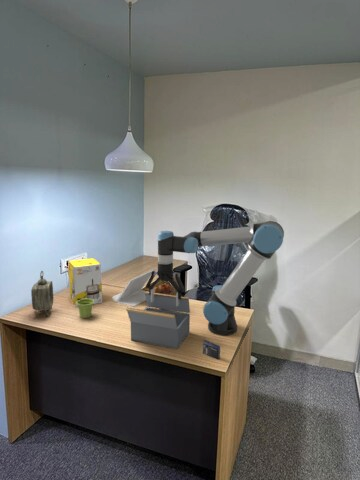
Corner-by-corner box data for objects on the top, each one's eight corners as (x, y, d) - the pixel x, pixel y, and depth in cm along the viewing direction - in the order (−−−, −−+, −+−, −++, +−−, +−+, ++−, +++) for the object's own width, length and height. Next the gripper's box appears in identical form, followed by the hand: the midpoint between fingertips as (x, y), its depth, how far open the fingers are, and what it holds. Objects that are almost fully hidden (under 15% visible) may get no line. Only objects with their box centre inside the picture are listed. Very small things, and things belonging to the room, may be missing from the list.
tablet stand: (156, 294, 224) (156, 270, 220) (134, 307, 202) (134, 280, 199) (134, 289, 232) (134, 266, 229) (111, 301, 210) (110, 275, 207)
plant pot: (97, 314, 190) (97, 300, 188) (86, 321, 182) (85, 306, 180) (85, 311, 194) (85, 297, 192) (73, 317, 186) (72, 302, 184)
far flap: (189, 313, 168) (190, 311, 169) (188, 299, 164) (188, 297, 165) (147, 306, 176) (147, 305, 177) (144, 293, 172) (145, 291, 173)
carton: (189, 332, 170) (189, 313, 168) (177, 349, 153) (177, 329, 151) (146, 324, 178) (146, 307, 176) (131, 340, 161) (130, 321, 159)
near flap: (174, 314, 146) (173, 316, 145) (177, 328, 151) (176, 330, 150) (127, 307, 154) (126, 309, 153) (131, 320, 159) (129, 322, 158)
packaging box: (75, 307, 200) (73, 267, 195) (70, 298, 214) (68, 261, 209) (102, 302, 208) (100, 264, 203) (95, 294, 222) (93, 258, 217)
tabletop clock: (50, 317, 185) (47, 274, 180) (32, 318, 183) (29, 275, 179) (54, 307, 199) (51, 267, 194) (38, 308, 197) (35, 268, 192)
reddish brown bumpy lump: (164, 304, 206) (164, 280, 203) (174, 307, 201) (174, 283, 198) (147, 311, 195) (147, 286, 192) (157, 315, 190) (157, 290, 187)
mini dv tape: (202, 353, 150) (202, 341, 149) (204, 352, 151) (204, 340, 150) (218, 359, 145) (218, 347, 144) (219, 358, 146) (220, 345, 145)
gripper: (191, 263, 163) (190, 304, 167) (145, 258, 171) (145, 297, 175) (187, 266, 156) (186, 309, 160) (139, 261, 164) (139, 302, 168)
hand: (164, 303), depth 167 cm, fingers open, 13 cm apart
